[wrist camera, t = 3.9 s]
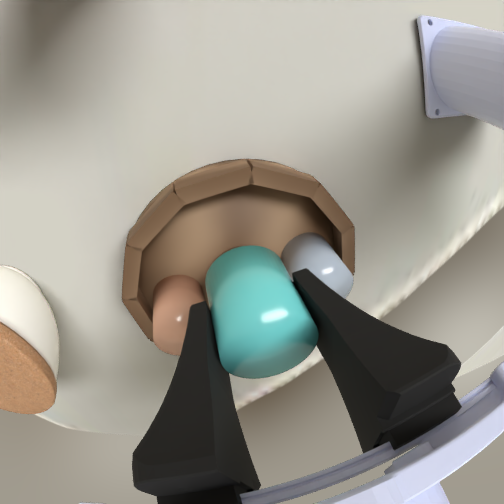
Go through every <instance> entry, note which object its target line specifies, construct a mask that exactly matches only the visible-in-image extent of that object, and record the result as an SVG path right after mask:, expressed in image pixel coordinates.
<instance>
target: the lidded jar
mask: <svg viewBox="0 0 504 504" xmlns="http://www.w3.org/2000/svg"><path fill="white" fill-rule="evenodd" d="M58 367H59V334H58V329H57V324H56V320H55V317H54V315H53V312H52V309H51V307H50V305H49V304H48V302H47V300H46V299H45V297H44V295H43V293H42V291H41V289H40V288H39V286H38V285H37V284H36V283H35V281H34V280H33V279H32V278H31V277H29V276H28V275H27V274H26V273H24V272H22V271H21V270H19V269H17V268H14V267H11V266H7V265H0V409H3V410H7V411H10V412H15V413H22V414H36V413H41V412H44V411H46V410H48V409H49V408H50V407H52V405H53V404H54V402H55V398H56V392H57V382H56V381H57V375H58Z"/></svg>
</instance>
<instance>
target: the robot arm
mask: <svg viewBox="0 0 504 504" xmlns="http://www.w3.org/2000/svg"><path fill="white" fill-rule="evenodd" d="M428 22H429V24H428ZM417 23H418V29H419V36H420V44H421V52H422V61H423V72H424V86H425V106H426V115H427V117H429V118H432V119H434V118H443V117H452V116H462V115H469V116H471V117H474V118H477V119H479V120H482V121H484V122H486V123H489V124H491V125H493V126H496V127H498V128H500V129H502V130H504V32H502V31H496V30H490V29H485V28H481V27H477V26H473V25H469V24H465V23H461V22H456V21H452V20H447V19H442V18H436V17H430V16H418V18H417ZM435 111H436V113H435ZM292 277H293V283H294V284H295V286H296V288H297V290H298V292H299V294H300V296H301V298H302V300H303V302H304V303H305V305H306V307H307V309H308V311H309V313H310V315H311V317H312V319H313V321H314V323H315V324H316V326H317V329H318V333H319V336H318V341H317V344H316V345H317V347H318V349H319V351H320V352H321V354H322V356H323V358H324V359H325V361H326V363H327V364H328V366H329V368H330V370H331V372H332V374H333V377H334V379H335V381H336V383H337V386H338V388H339V390H340V393H341V395H342V398H343V400H344V403H345V405H346V407H347V410H348V412H349V415H350V418H351V420H352V423H353V426H354V428H355V431H356V434H357V437H358V439H359V442H360V445H361V448H362V451H363V454H361V455H359V456H357V457H355V458H352V459H350V460H348V461H345V462H343V463H340V464H338V465H336V466H333V467H330V468H328V469H325V470H322V471H319V472H316V473H314V474H311V475H308V476H305V477H302V478H299V479H296V480H292V481H289V482H286V483H282V484H279V485H275V486H272V487H268V488H264V489H261V490H259V488H260V486H261V484H260V482H259V479H258V476H257V474H256V471H255V468H254V465H253V463H252V460H251V457H250V454H249V451H248V448H247V445H246V442H245V439H244V435H243V432H242V429H241V426H240V423H239V419H238V416H237V412H236V409H235V405H234V400H233V395H232V389H231V383H230V377H229V372H228V371H226V370H225V369H224V368H223V366H222V364H221V361H220V357H219V352H218V348H217V343H216V338H215V333H214V328H213V323H212V318H211V313H210V309H209V307H208V305H207V303H206V301H203V302H200V303H196V304H193V305H191V307H190V310H189V317H188V323H187V329H186V334H185V338H184V342H183V346H182V350H181V354H180V357H179V361H178V364H177V368H176V371H175V374H174V376H173V379H172V382H171V384H170V387H169V389H168V392H167V394H166V396H165V399H164V401H163V403H162V405H161V407H160V409H159V411H158V413H157V415H156V417H155V419H154V420H153V422H152V424H151V426H150V428H149V429H148V431H147V433H146V434H145V436H144V437H143V439H142V440H141V442H140V443H139V445H138V446H137V448H136V449H135V451H134V452H133V461H132V470H133V482H134V486H135V487H136V488H137V489H138V490H140V491H142V492H145V493H148V494H151V495H154V496H157V502H158V504H276V503H280V502H283V501H287V500H290V499H294V498H297V497H300V496H303V495H307V494H309V493H313V492H316V491H318V490H321V489H324V488H327V487H329V486H332V485H335V484H337V483H340V482H342V481H345V480H347V479H350V478H352V477H355V476H357V475H359V474H361V473H364V472H366V471H368V470H370V469H373V468H375V467H377V466H379V465H381V464H383V463H385V462H387V461H389V460H391V459H393V458H395V457H397V456H399V455H401V454H402V453H404V452H406V451H408V450H410V449H412V448H413V447H415V446H417V445H418V446H417V447H415V448H414V449H412V450H411V451H409V452H407V453H406V454H404V455H402V456H401V457H399V458H398V459H396V460H394V461H393V463H392V465H391V466H390V467H389V468H387V469H386V470H385V471H384V473H385V475H384V476H382V477H380V478H377V479H375V480H373V481H371V482H368V483H366V484H364V485H361V486H359V487H357V488H354V489H352V490H349V491H347V492H344V493H341V494H339V495H336V496H334V497H331V498H328V499H325V500H323V501H320V502H317V503H314V504H450V503H449V501H448V499H447V497H446V495H445V493H444V491H443V489H442V487H441V485H440V483H439V482H440V481H441V480H443V479H444V478H446V477H447V476H448V475H450V474H451V473H453V472H454V471H456V470H457V469H458V468H460V467H461V466H462V465H464V464H465V463H466V462H468V461H469V460H470V459H472V458H473V457H474V456H475V455H477V454H478V453H479V452H480V451H482V450H483V449H484V448H485V447H486V446H487V445H489V444H490V443H491V442H492V441H493V440H494V439H496V438H497V437H498V436H499V435H500V434H501V433H502V432H503V431H504V361H503V362H502V363H501V364H500V365H499V366H498V367H497V368H496V369H495V370H494V371H493V372H492V374H491V375H490V377H489V378H488V379H487V380H485V381H484V382H483V383H481V384H480V385H479V386H477V387H476V388H475V389H473V390H472V391H471V392H469V393H468V394H466V395H465V396H464V397H462V398H461V399H459V400H457V398H456V397H455V395H454V392H455V388H454V387H453V385H452V384H451V383H452V381H453V380H454V378H455V377H456V375H457V373H458V372H459V370H460V367H461V362H460V361H459V359H458V358H457V356H456V355H455V354H454V352H453V351H452V350H451V349H450V348H449V347H448V346H447V345H445V344H441V343H437V342H433V341H430V340H426V339H423V338H420V337H417V336H414V335H411V334H409V333H406V332H404V331H402V330H399V329H397V328H395V327H392V326H390V325H388V324H386V323H384V322H382V321H380V320H378V319H376V318H374V317H373V316H371V315H369V314H367V313H366V312H364V311H362V310H361V309H359V308H358V307H356V306H355V305H353V304H352V303H350V302H349V301H347V300H346V299H344V298H343V297H342V296H340V295H339V294H338V293H336V292H335V291H334V290H332V289H331V288H330V287H328V286H327V285H326V284H325V283H324V282H322V281H321V280H320V279H319V278H318V277H316V276H315V275H314V274H313V273H312V272H311V271H310V270H309V269H307V268H305V269H302V270H299V271H296V272H293V273H292ZM79 504H104V503H87V502H80V503H79Z"/></svg>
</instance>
